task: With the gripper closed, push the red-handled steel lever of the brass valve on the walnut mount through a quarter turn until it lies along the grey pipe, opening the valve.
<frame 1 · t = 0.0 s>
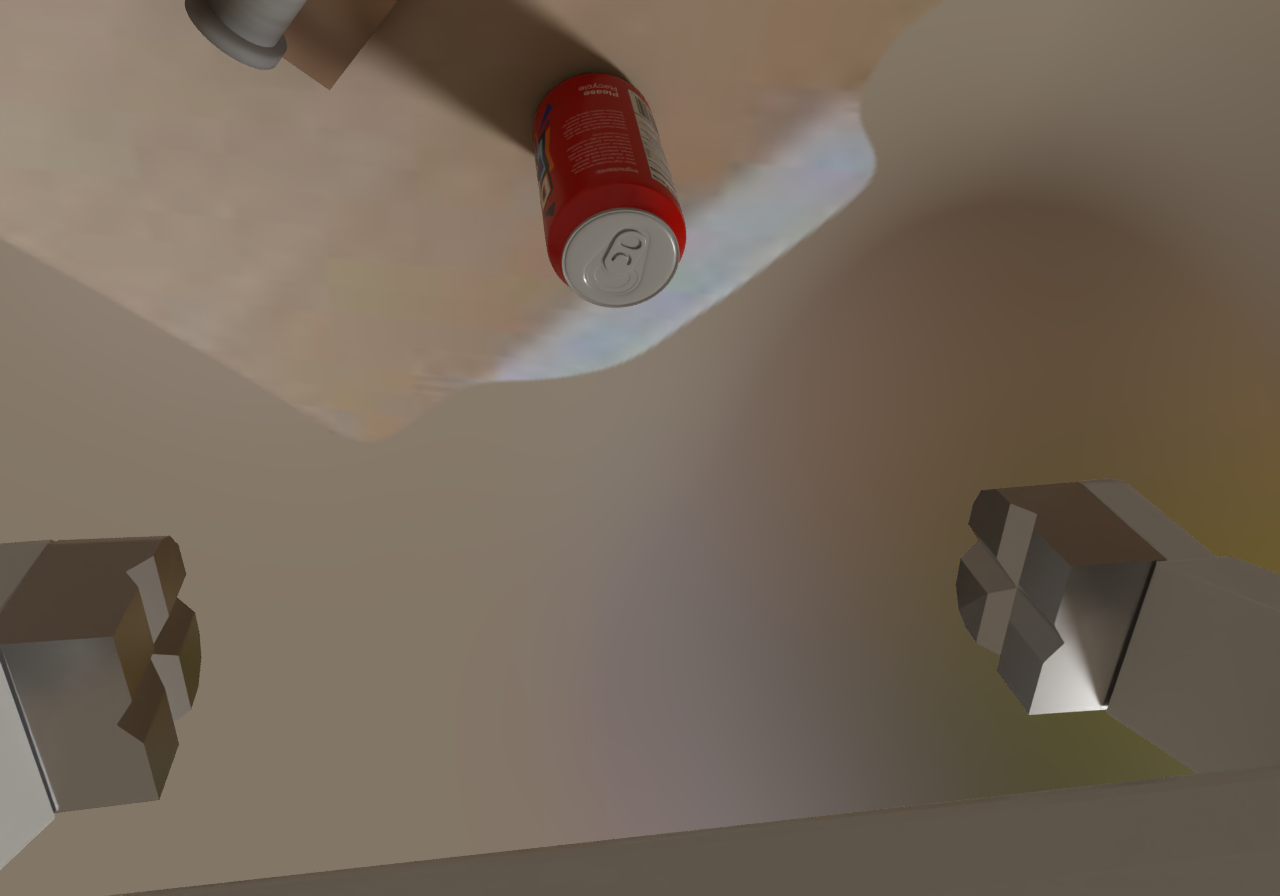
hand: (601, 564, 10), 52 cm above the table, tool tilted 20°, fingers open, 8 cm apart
soda can: (591, 122, 63), on the table
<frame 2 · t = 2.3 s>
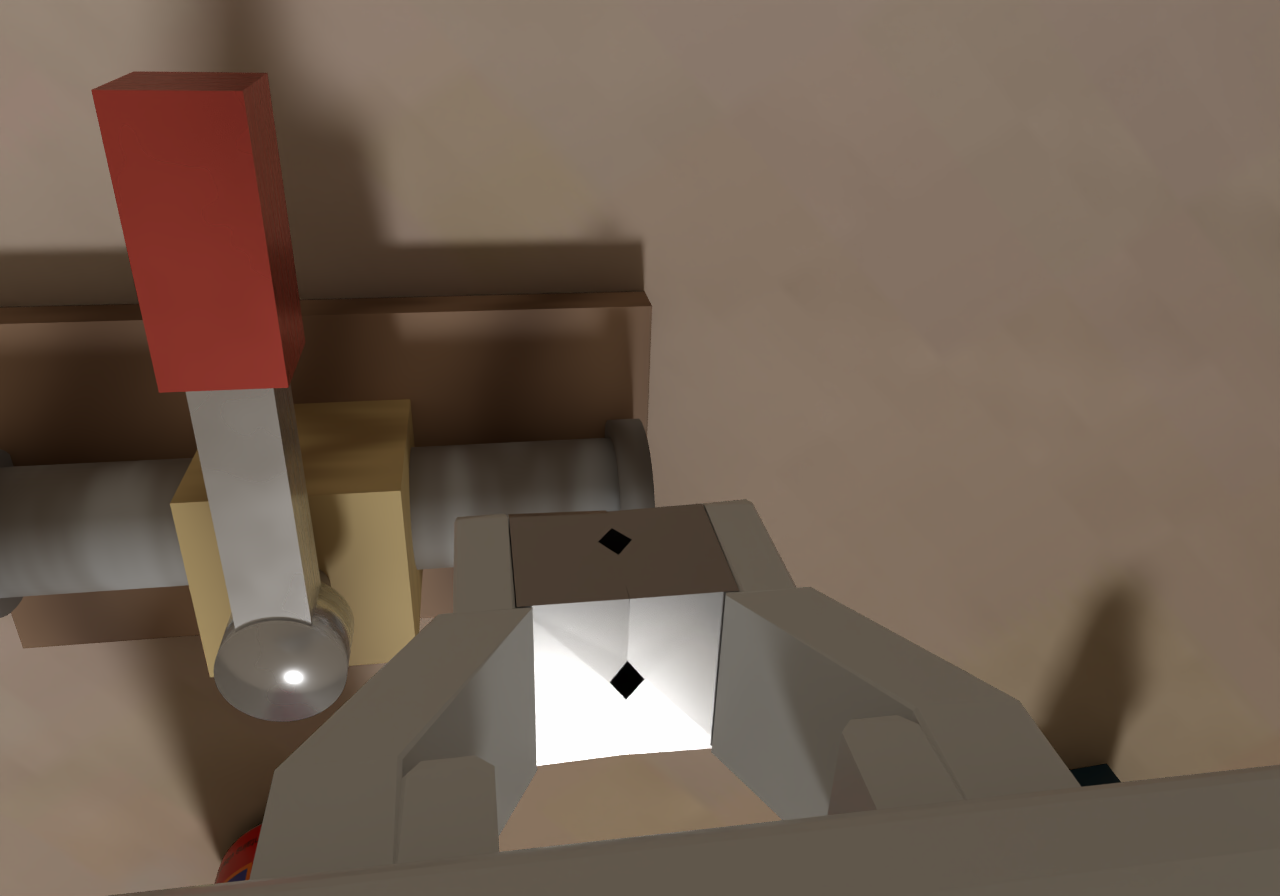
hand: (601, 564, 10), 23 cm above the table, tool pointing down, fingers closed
soda can: (316, 855, 43), on the table
valve lever: (249, 437, 22), point 10 cm above the table, hinge at -90.0°
valve mount: (332, 461, 34), on the table
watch: (1047, 800, 50), on the table
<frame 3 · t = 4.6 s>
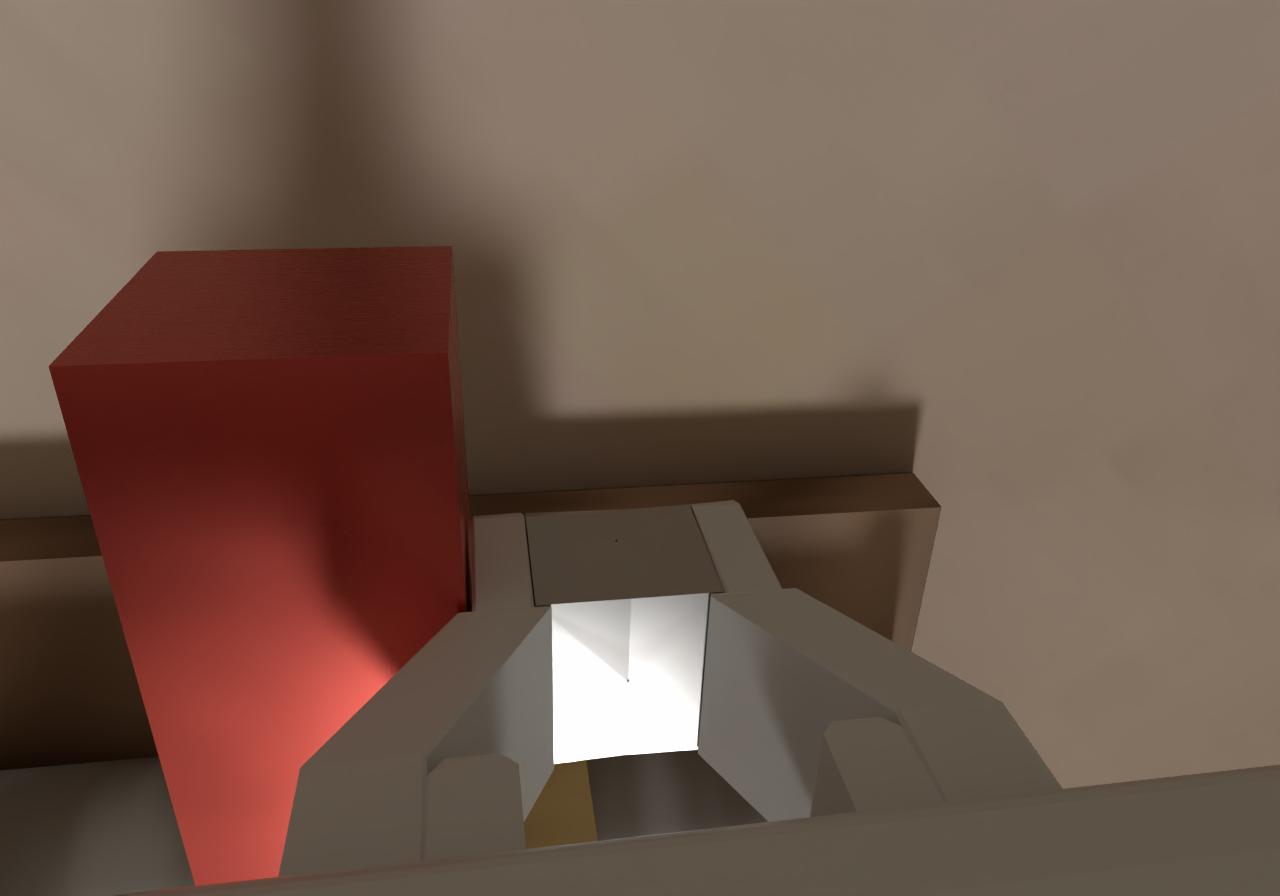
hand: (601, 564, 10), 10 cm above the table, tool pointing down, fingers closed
valve mount: (438, 713, 23), on the table
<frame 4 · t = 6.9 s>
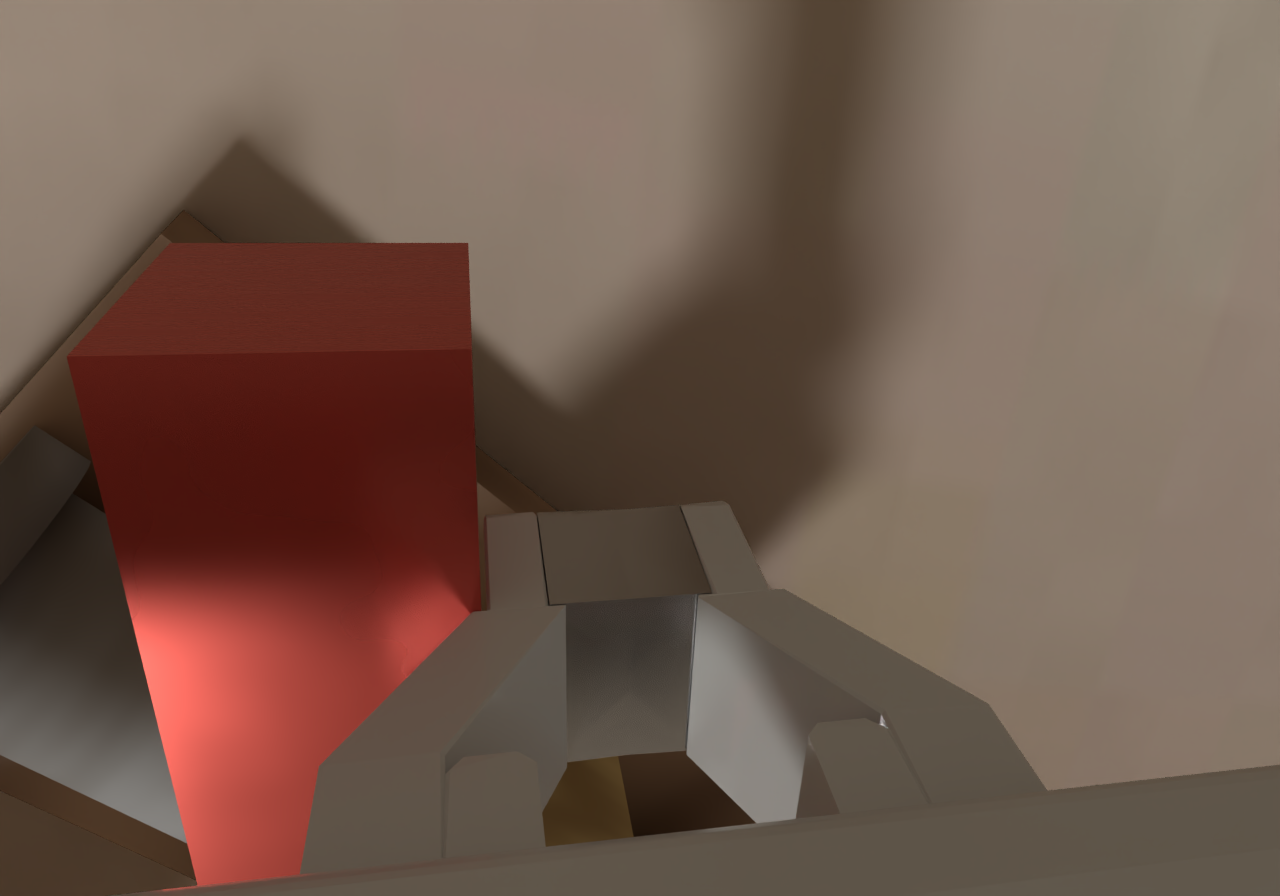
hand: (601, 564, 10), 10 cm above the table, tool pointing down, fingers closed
valve mount: (430, 714, 23), on the table
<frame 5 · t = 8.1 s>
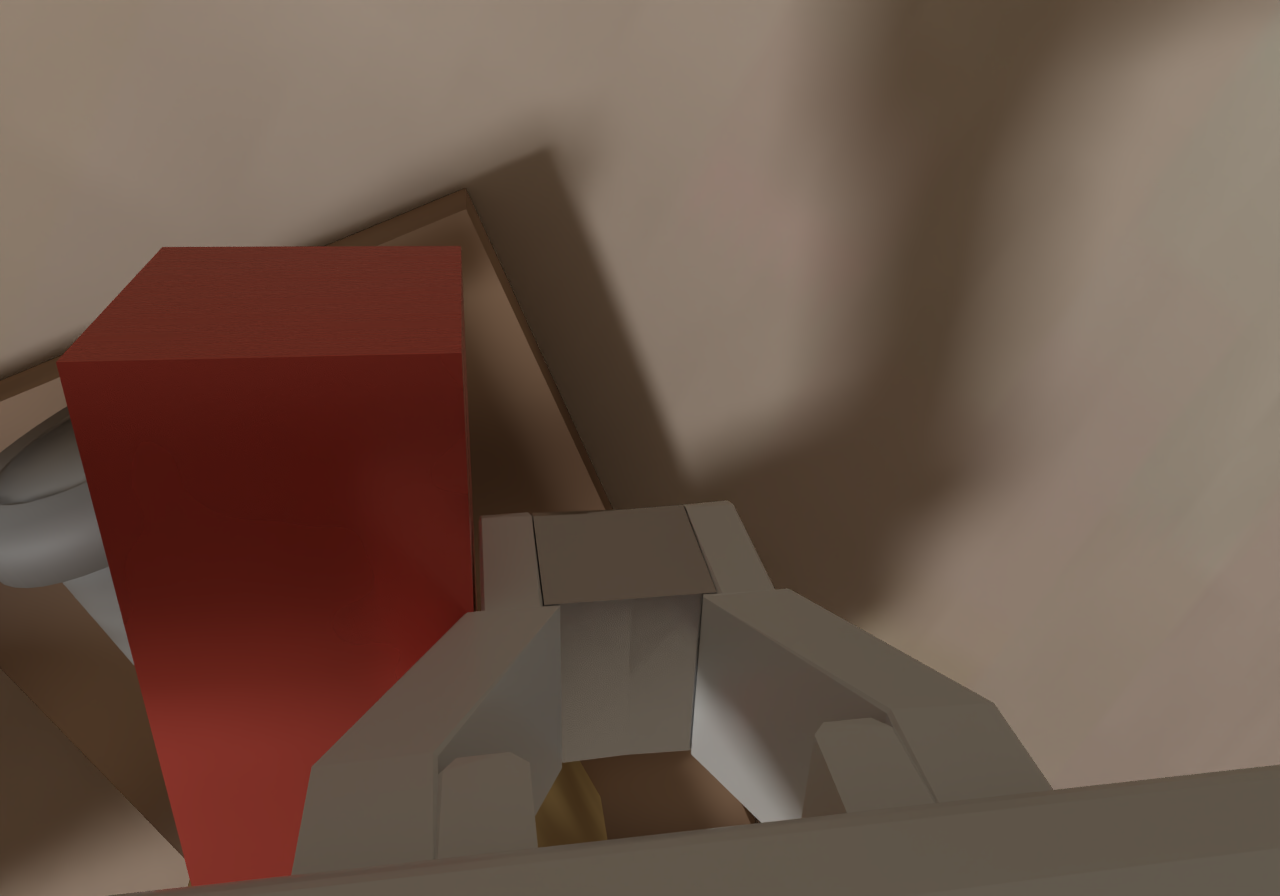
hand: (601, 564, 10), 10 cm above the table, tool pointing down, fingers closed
valve mount: (430, 715, 23), on the table
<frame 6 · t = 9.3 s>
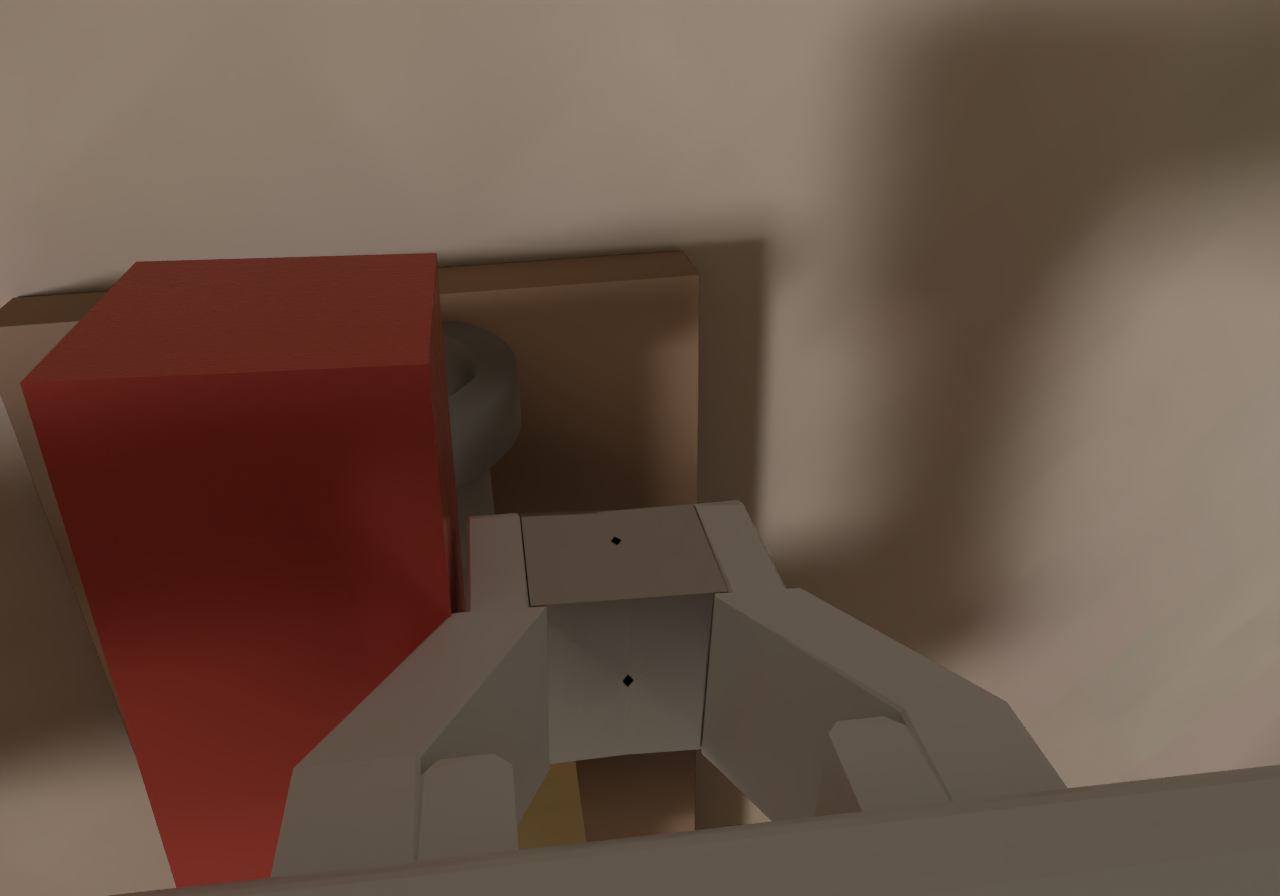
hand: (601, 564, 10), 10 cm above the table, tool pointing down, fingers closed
valve mount: (435, 718, 23), on the table
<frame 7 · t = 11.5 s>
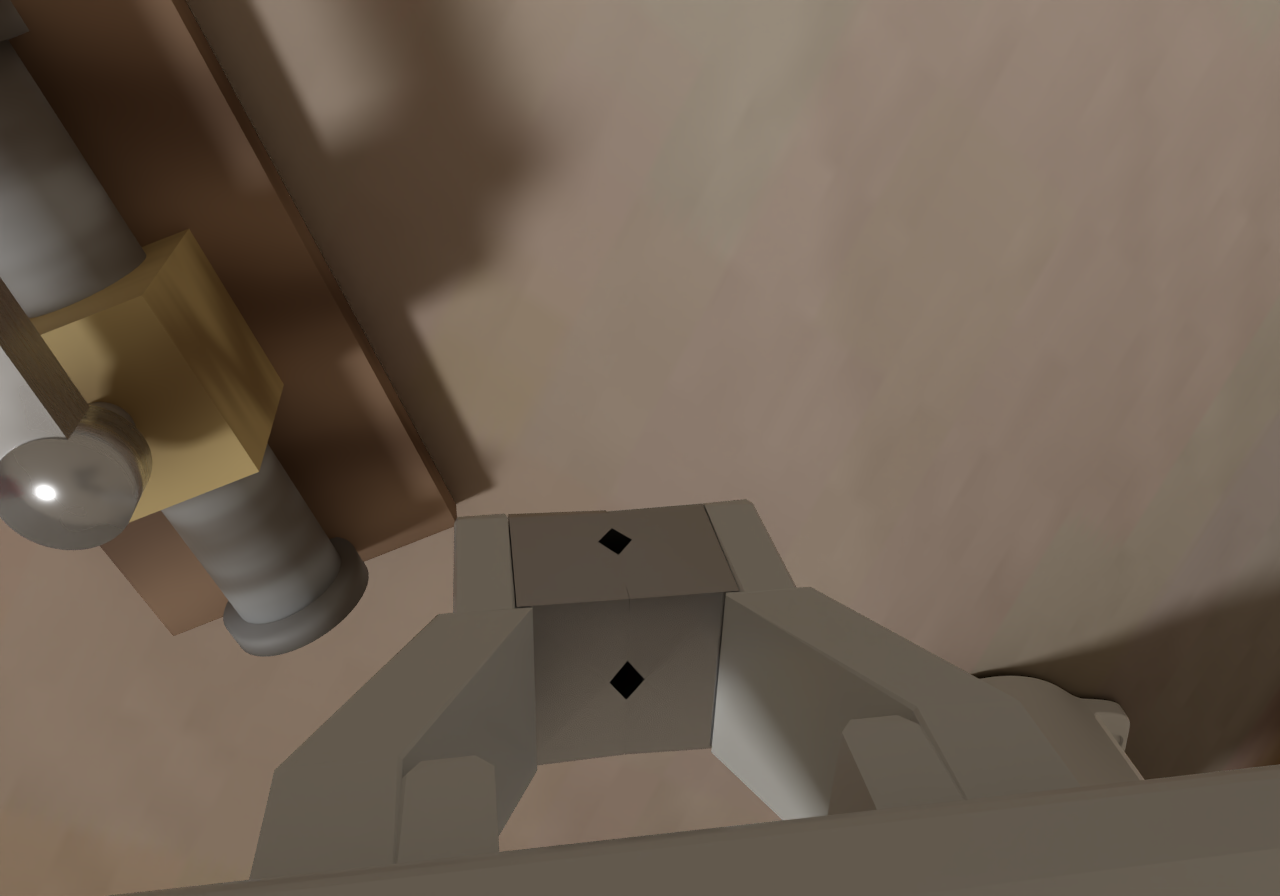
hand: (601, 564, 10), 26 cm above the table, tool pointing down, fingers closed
valve mount: (165, 326, 34), on the table
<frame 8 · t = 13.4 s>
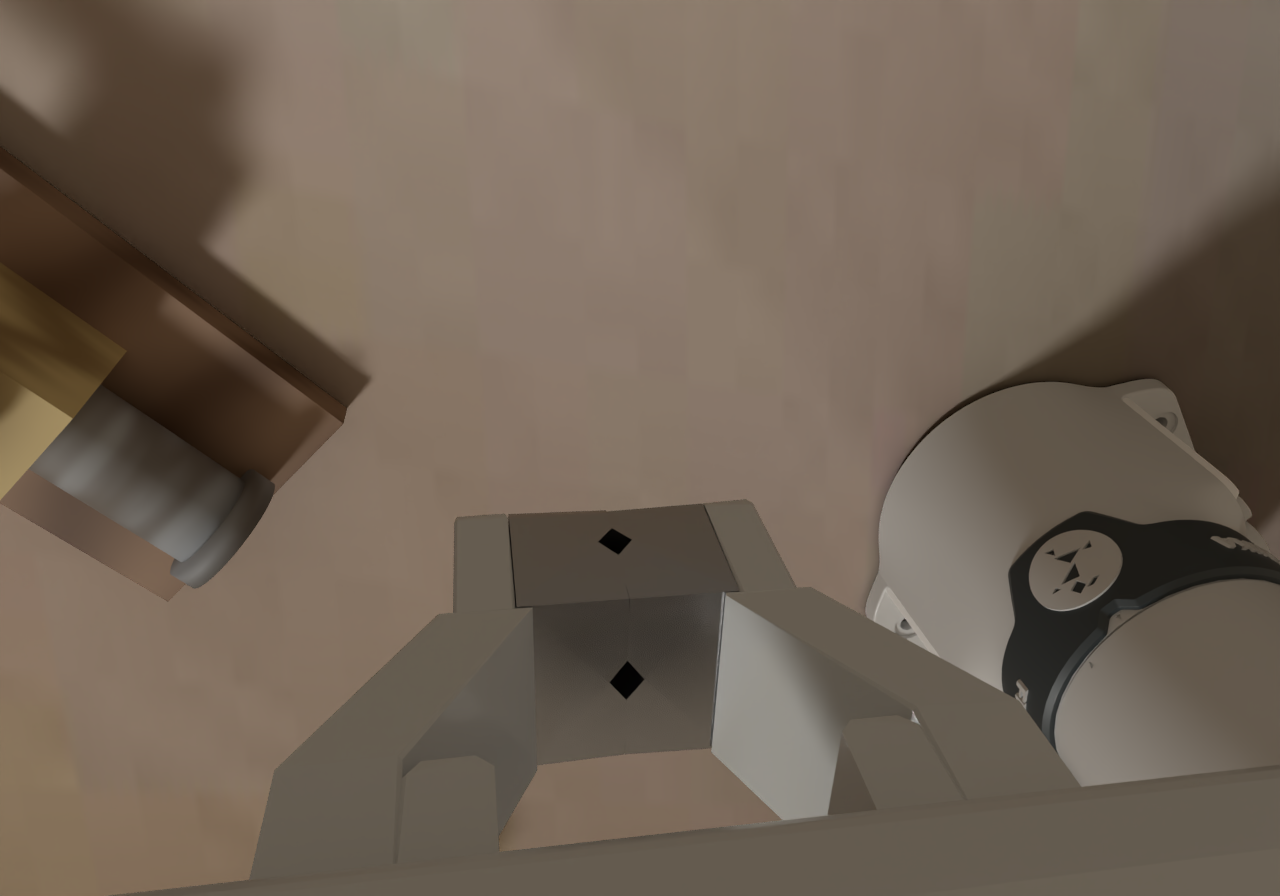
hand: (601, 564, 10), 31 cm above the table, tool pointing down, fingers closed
valve mount: (24, 339, 38), on the table
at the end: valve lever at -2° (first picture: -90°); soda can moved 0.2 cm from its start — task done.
